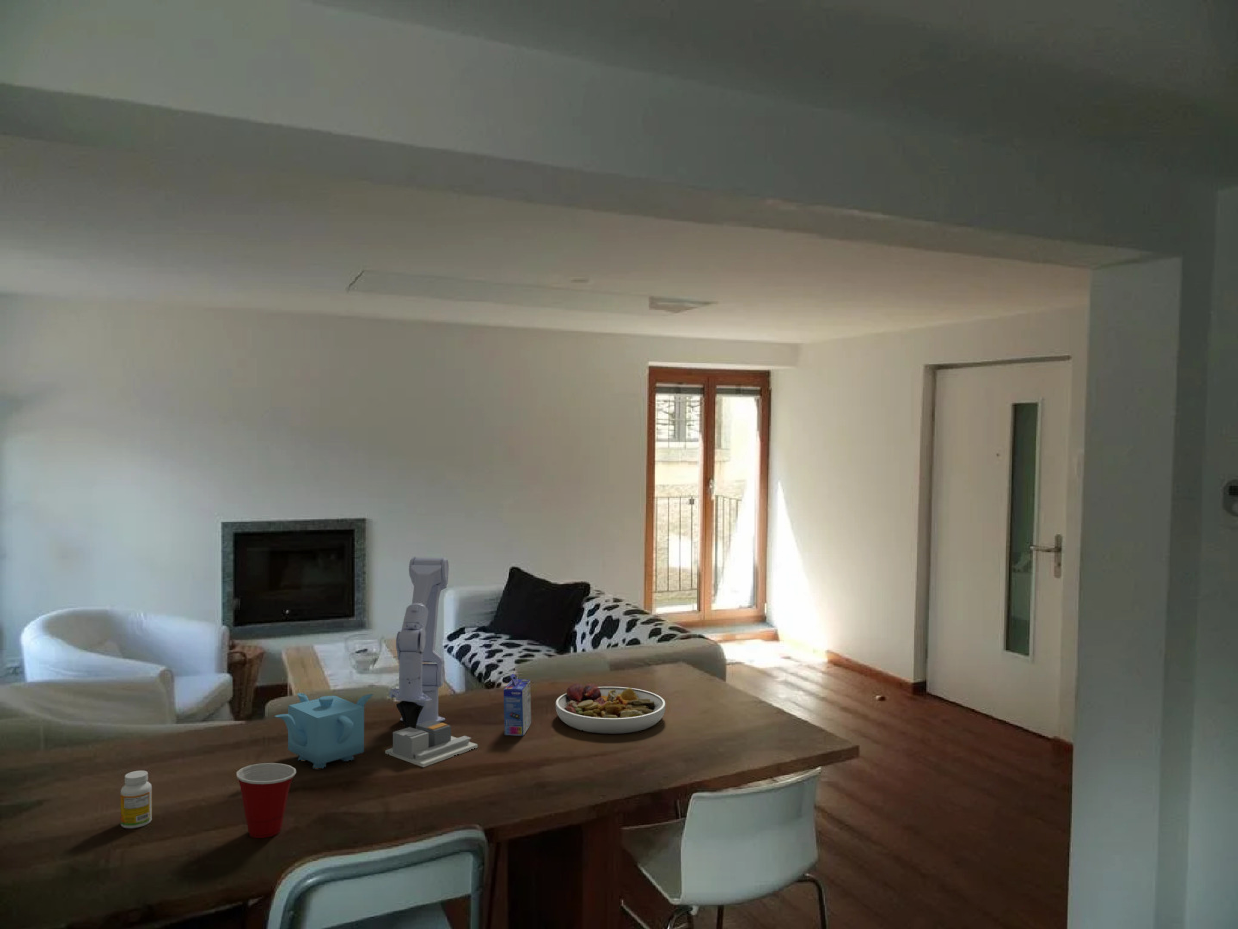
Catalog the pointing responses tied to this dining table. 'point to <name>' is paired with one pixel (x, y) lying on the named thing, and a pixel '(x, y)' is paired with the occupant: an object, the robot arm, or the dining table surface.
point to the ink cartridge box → (517, 706)
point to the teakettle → (325, 729)
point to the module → (436, 732)
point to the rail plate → (425, 747)
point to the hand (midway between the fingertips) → (410, 730)
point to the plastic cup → (265, 796)
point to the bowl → (609, 709)
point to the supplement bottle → (136, 800)
